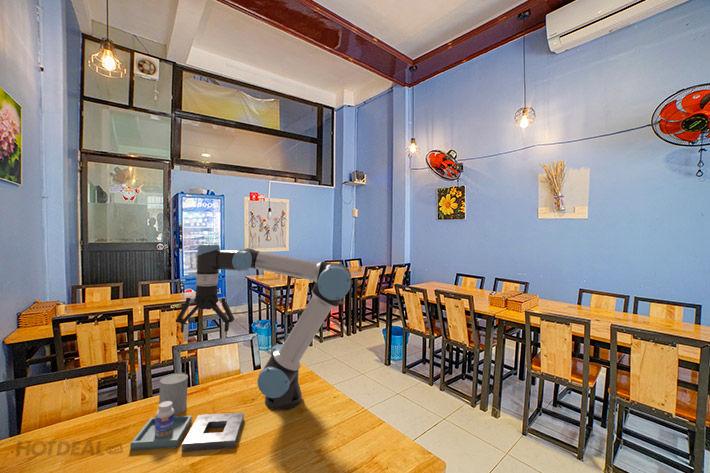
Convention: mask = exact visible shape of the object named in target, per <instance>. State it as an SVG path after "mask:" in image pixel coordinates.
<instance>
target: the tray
mask: <svg viewBox="0 0 710 473" xmlns="http://www.w3.org/2000/svg"><path fill="white" fill-rule="evenodd" d="M192 416H193V415H175V416H174V427H173V432H172V433H171V434H169V435H167V436H164V437H157V436H156V435H155V422H156V416H155V417H153V416H152V417H150V418H149V419H148V421H147V422H146V423H145V425H144V426H143V427H142V428H141V429H140V431H139V432H138V433H137V434H136V436H135V437H134V438H133V439H132V440H131V442H130V443H129V444H130V446H129V447H130V452H131V451H147V450H161V449H162V450H163V449H177V448H178V446H179V444H180V443H181V442H182V439H183V438H184V436H185V434H186V433H187V431H188V430H189V427H190V426H191V424H192V420H193V417H192Z"/></svg>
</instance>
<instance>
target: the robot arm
mask: <svg viewBox="0 0 710 473" xmlns="http://www.w3.org/2000/svg"><path fill="white" fill-rule="evenodd" d="M249 269H255V270H259V271H260V270H261V271H265V272H270V273H275V274H280V275H284V276H289V277H294V278H299V279H303V280H309V281H313V282H314V283H315V284H314V286H313V287H312V289H311V295H312V296H311V298H310V299H309V302H308V303H307V304H306V306H305V308H304V309H303V311H302V313H301V314H300V316H299V318H298V320H297V321H296V323H295V324H294V326H293V327H292V329H291V330H290V332H289V334H288V336H287V337H286V338H285V341H284V342H283V344H282V343H281V344H275V345H274V346H272V348H271V351H270V353H271V354H270V357H269V359H268V360H267V362H266V363H265V366H264V367H263V368H262V369H261V371H259V373H258V377H257V387H258V389H259V391H260V392H261V394H262V395H264V404H265V406H266V407H267V408H269V409H271V410H274V411H275V410H276V411H287V410H290V409H293V408H295V406H296V407H298V406H299V405H300V404H301V403H302V398H303V393H302V389H301V386H300V383H299V375H300V374H299V370H300V368H301V362H300V361H301V359H302V358H303V356H304V354H306V351H307V349H309V346H310V345H311V344H312V341H313V340H314V338H315V336H317V333H318V331H319V330H320V328H321V326H322V325H323V323H324V321H325V320H326V318H327V317H328V315H329V313H330V312H331V311H332V309H333V308H338V307H339V305H340V303H341V302H342V301H343V298H344V297H345V296H346V295H347V294H348V293H349V291H350V289H351V286H352V274H351V271H350V270H349V268H348V267H347V266H345V264H341V263H339V262H338V263H335V262H325V261H323V260H321V261H320V262H315V261H310V260H304V259H300V258H299V259H298V258H293V257H288V256H284V255H280V254H274V253H269V252H265V251H258V250H255V249H253V248H250V247H249V248H243V249H234V250H232V249H229V250H228V249H221V248H220V245H219V244H217V243H216V244H215V243H214V244H213V243H200V244H199V245H198V247H197V253H196V276H195V278H196V280H195V281H196V285H195V297H192V296H188V297H186V298H185V303H184V305H183V307H182V308H181V310H180V312H179V313H178V315H177V318H176V319H175V322H176V323H179V324H180V332H181V333H183V334H182V335H183V336H182V337H183V338H182V340H183V341H182V342H183V343H186V341H188V340H189V322H188V320H189V319H191V317H193V315H194V314H195V313H196V312H197V311H198V310H199V309H200V310H208V311H209V310H212V311H214V312H215V313H216V314H217V316H218V317H219V318H220V319H221V321H222V322H223V323H222V328H221V341H222V342H225V340H226V339H227V333H228V331H229V330H230V323H233V321H234V320H235V317H234V314H233V312H232V310H231V309H230V306H229V305H228V301H227V297H226V296H223V297H218V296H219V295H218V292H219V290H218V289H219V285H218V283H219V271H220V270H221V271H222V270H227V271H238V272H240V271H248V270H249ZM193 302H194V303H195V304H196V305H195V306H194V307H192V308H193V309H191V310H190V312H188V314H187V315H186V316H185V314H186V312H187V310H188V309H189V307H190V306H191V304H192V303H193ZM218 302H219V303H220V304H221V305H222V308H223V310H222V309H221V308H220V307H219V305H218V304H217V303H218ZM223 311H224V312H225V313H224V312H223ZM184 316H185V317H184ZM299 403H300V404H299ZM298 404H299V405H298Z"/></svg>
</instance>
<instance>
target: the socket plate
mask: <svg viewBox="0 0 710 473" xmlns="http://www.w3.org/2000/svg"><path fill="white" fill-rule="evenodd" d="M244 417H245V412H230V413H229V412H228V413H211V414H210V413H207V414H205V413H204V414H198V415H197V417H196V418H195V420H194V422H193V424H192V426H191V427H190V429H189V431H188V433H187V435H186V436H185V438H184V440H183V442H182V443H181V452H182V453H184V452H186V453H187V452H201V451H213V450H228V449H229V450H230V449H235V448H236V445H237V441H238V438H239V435H240V432H241V429H242V425H243V423H244ZM213 429H223V431H222V432H208V430H213Z"/></svg>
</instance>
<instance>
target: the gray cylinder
mask: <svg viewBox="0 0 710 473" xmlns="http://www.w3.org/2000/svg"><path fill="white" fill-rule="evenodd" d="M188 378H189V376H188V374H187V373H185V372H174V373H170V374H167V375H164V376H163V377H161V378H160V379H159V396H158V397H159V398H158V399H159V400H158V405H159V404H160V403H162V402H165V401H171V402H172V408H173V409H174V416H179V415H180V414H182V413H184V412H185V411H186V410H187V407H188V404H187V402H188V401H187V400H188V383H189V381H188V380H189V379H188Z"/></svg>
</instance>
